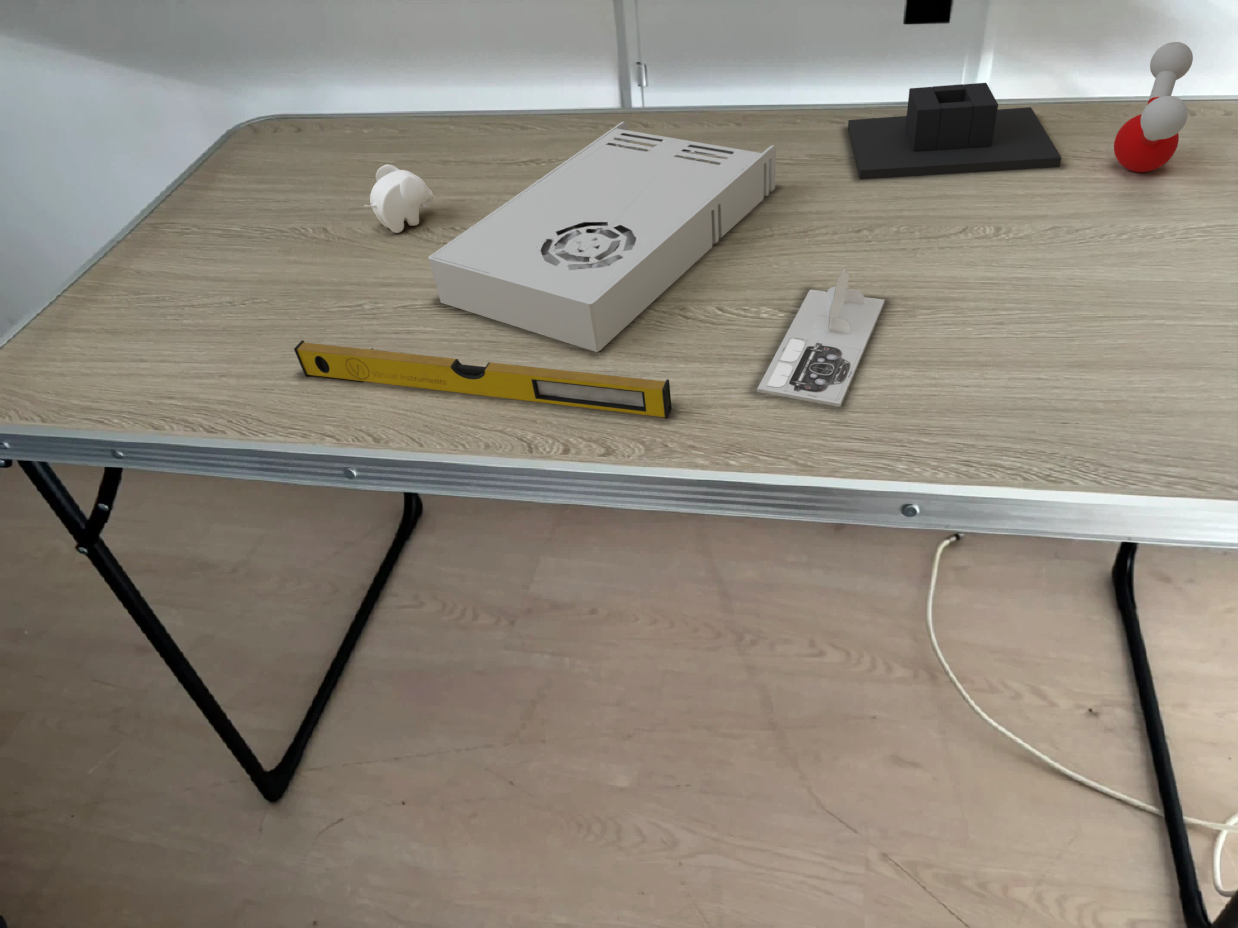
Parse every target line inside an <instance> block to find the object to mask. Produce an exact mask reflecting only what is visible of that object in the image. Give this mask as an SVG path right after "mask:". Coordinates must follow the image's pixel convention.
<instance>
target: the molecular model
mask: <svg viewBox="0 0 1238 928" xmlns="http://www.w3.org/2000/svg"><path fill="white" fill-rule="evenodd" d="M1193 61H1194V55H1193V51H1192V49H1191V48H1190V46H1188V45H1187V44H1186V43H1184V42H1180V41H1171V42H1167V43H1165V44H1163V45H1162V46H1160V47H1158V48H1157V49H1156V51H1155V52H1154V53H1153V55H1152V56H1151V59H1150V63H1149V68H1150V69H1149V70H1150V73H1151V75H1152V76H1153V78H1155V79H1154V81H1153V85H1152V87H1151V91H1150V95H1149V98H1148V100H1147V104H1146V106H1145V107H1144V109H1143V110H1142V113H1141V114H1137V115H1135V116H1133V117H1132V118H1130V119H1129V120H1127V121H1126V122H1125V123H1123V124H1122V126H1121V127H1120V128H1119V130H1117V131H1118V132H1117V133H1116V135H1115V138H1114V142H1113V152H1114V156H1115V159H1116V160H1117V162H1118V163H1119V164H1120V165H1121V166H1122V167H1123V168H1125V169H1126V170H1128V171H1130V172H1135V173H1149V172H1152V171H1156V170H1158V169H1159V168H1161V167H1162V166H1164V165H1165V164H1167V163H1168V162H1169V161H1170V160H1171V158H1172V157H1173V156H1174V154H1175V152H1176V151H1177V149H1178V146H1179V141H1180V136H1179V135H1180V134H1179V133H1180V131H1181V130H1182V129H1184V127H1185V125H1186V124H1187V121H1188V117H1189V116H1188V115H1189V111H1188V107H1187V104H1186V102H1184V101H1183V100H1182V99H1181V98H1179V97H1177V96H1174V95H1172V94H1173V91H1174V89H1175V85H1176V82H1177V81H1178V80H1179V79H1181V78H1183V77H1184V76H1185V75H1186V74H1187V73H1188V72H1189V71H1190V69H1191V67H1192V65H1193Z"/></svg>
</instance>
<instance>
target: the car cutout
mask: <svg viewBox="0 0 1238 928" xmlns="http://www.w3.org/2000/svg"><path fill="white" fill-rule="evenodd" d="M849 281H850V272H849V270H846V268H845V267H843V269H842V270H841V273H840V274H839V276H838V278H837V281H836V283H835V286H834V285H833V286H830V287H829V288H828V289H827V291H825V290H819V289H811V288H810V289H809V290H808V292H807V293H806V296H805V297H804V299H803V301H802V303H801V305H800V307H799V309H798V311H797V313H796V314H795V316H794V318H793V320H792V322H791V323H790V325H789V328H788V330H787V332H786V333H785V335H784V337H783V339H782V341H781V343H780V345H779V346H778V349H777V350H776V352H775V354H774V356H773V358H772V360H771V361H770V363H769V365H768V367H767V369H766V370H765V373H764V374H763V376H762V378H761V380H760V382H759V384H758V386H757V388H756V392H757V393H762V394H766V395H771V396H772V395H773V396H779V397H783V398H789V399H794V400H799V401H805V402H811V403H816V404H822V405H827V406H831V407H837V408H838V407H839V408H841V407H842V405H843V402H844V399H845V398H846V396H847V395H846V394H847V392H848V391H849V388H850V385H851V383H852V380H853V378H854V376H855V374H856V371H857V369H858V367H859V365H860V362H861V359H862V357H863V355H864V352H865V351H866V348H867V346H868V343H869V340H870V338H871V336H872V333H873V332H874V329H875V326H876V324H877V322H878V319H879V317H880V315H881V312H882V310H883V308H884V305H885V303H886V299H883V298H876V297H869V296H865V294H864V293H863V292H862V291H861V290H860V289H857V288H850V285H849Z"/></svg>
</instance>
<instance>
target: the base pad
mask: <svg viewBox="0 0 1238 928" xmlns="http://www.w3.org/2000/svg"><path fill="white" fill-rule="evenodd" d="M906 118H907V115H899V116H887V117H874V118H873V117H872V118H859V119H858V118H857V119H856V118H855V119H848V120H847V131H848V135H849V140H850V145H851V148H852V153H853V157H854V161H855V166H856V170H857V175H858V178H859V179H858V180H860V181H861V180H872V179H873V180H877V179H890V178H892V179H893V178H908V177H909V178H910V177H922V176H938V175H940V176H941V175H955V174H971V173H987V172H1003V171H1019V170H1036V169H1053V168H1060V166H1061V162H1062V156H1061V154H1060V153H1059V151H1058V149H1057V148H1056V146H1055V144H1054V143H1053V141H1052V140H1051V138H1050V136H1049V134H1048V133H1047V131H1046V130H1045V128H1044V126H1043V124H1042V123H1041V121H1040V120H1039V118H1038V117H1037V114H1036V113H1035V111H1034V109H1033V108H1032V107H1031V106H1026V107H1015V108H1014V107H1013V108H1012V107H1011V108H999V109H997V115H996V121H995V127H994V133H993V139H992V145H991V146H990V147H975V148H960V149H944V150H929V151H913V149H912V146H911V143H910V140H909V137H908V134H907V131H906Z"/></svg>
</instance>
